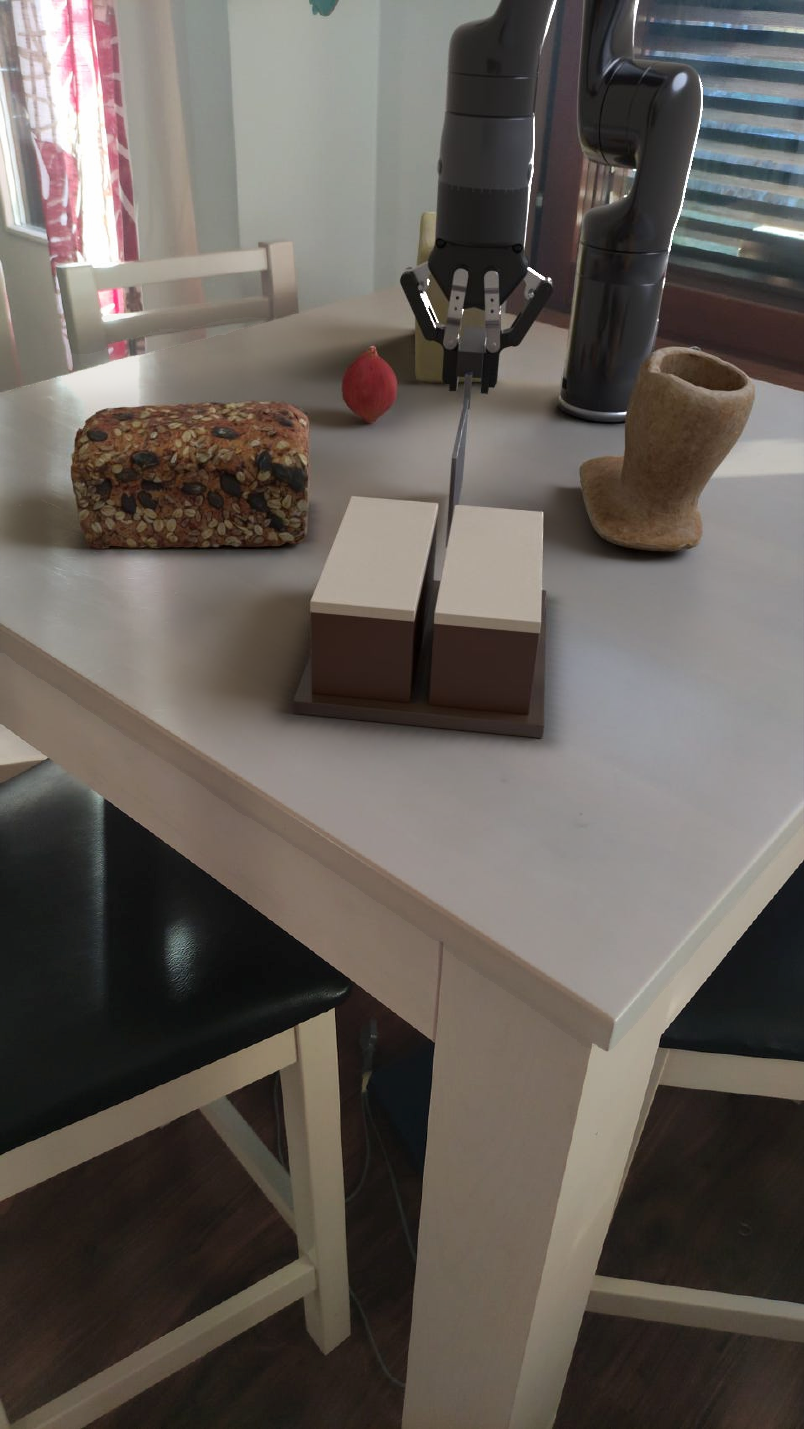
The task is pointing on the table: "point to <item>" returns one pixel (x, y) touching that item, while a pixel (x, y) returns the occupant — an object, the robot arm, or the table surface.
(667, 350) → the stone cup
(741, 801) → the table surface
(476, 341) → the knife
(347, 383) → the onion
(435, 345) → the cheese
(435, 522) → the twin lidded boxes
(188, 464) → the bread
